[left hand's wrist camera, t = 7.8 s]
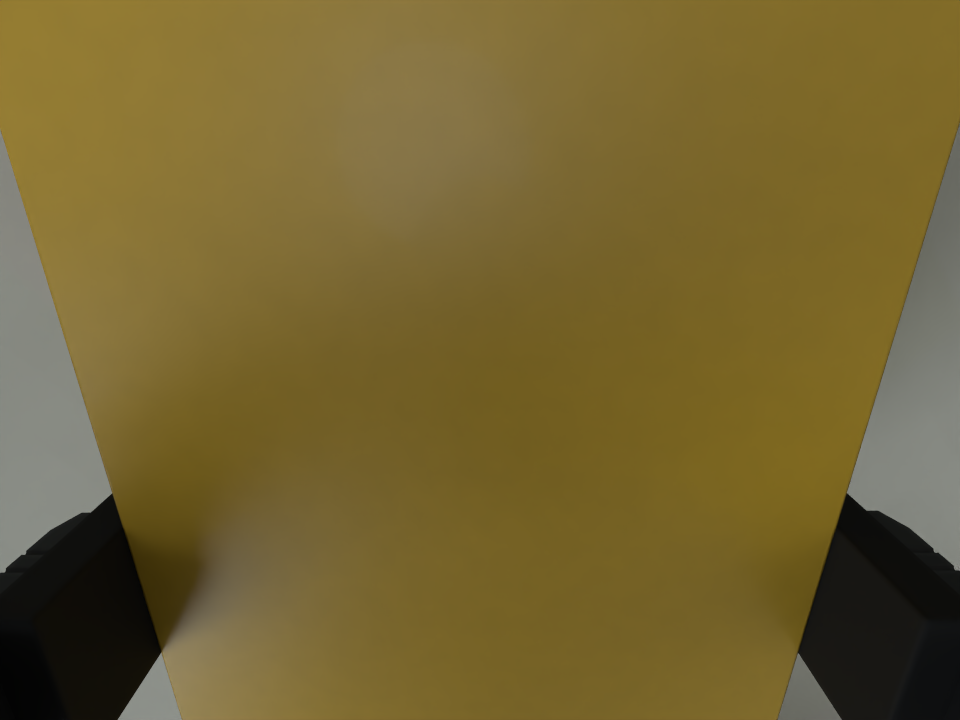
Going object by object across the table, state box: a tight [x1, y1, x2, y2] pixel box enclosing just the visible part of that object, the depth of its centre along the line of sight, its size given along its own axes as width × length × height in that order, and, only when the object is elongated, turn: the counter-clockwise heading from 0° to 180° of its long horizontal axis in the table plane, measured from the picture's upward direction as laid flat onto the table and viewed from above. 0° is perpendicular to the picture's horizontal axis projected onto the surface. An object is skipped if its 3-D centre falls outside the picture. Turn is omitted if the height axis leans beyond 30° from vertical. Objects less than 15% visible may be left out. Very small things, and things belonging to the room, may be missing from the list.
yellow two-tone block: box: [0, 0, 960, 720], centre depth 11 cm, size 19×11×8 cm, turn 0°
